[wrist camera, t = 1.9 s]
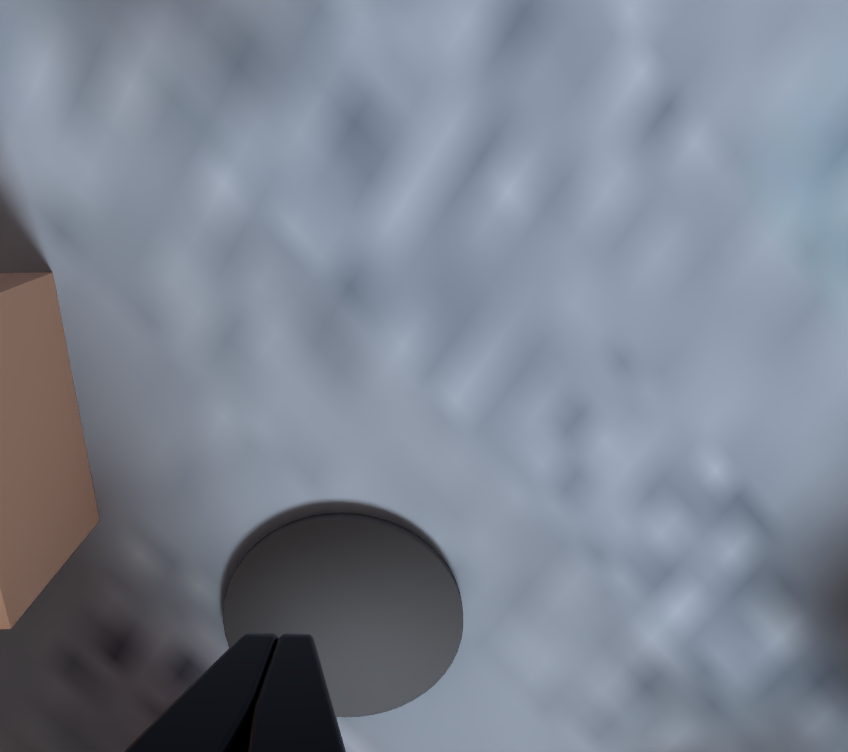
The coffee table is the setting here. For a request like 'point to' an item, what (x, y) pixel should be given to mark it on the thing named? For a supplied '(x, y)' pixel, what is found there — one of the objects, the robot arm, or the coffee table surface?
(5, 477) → the terracotta block
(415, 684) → the pad
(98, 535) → the coffee table surface
